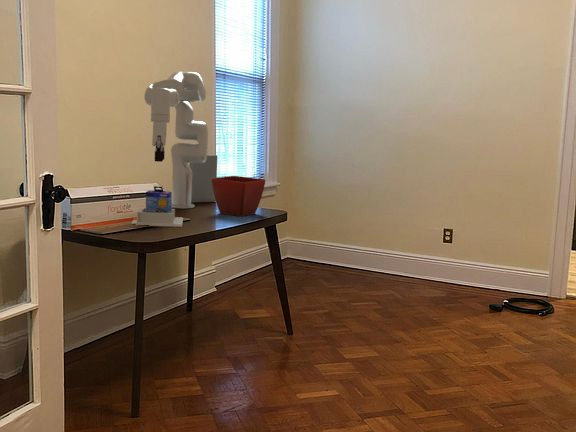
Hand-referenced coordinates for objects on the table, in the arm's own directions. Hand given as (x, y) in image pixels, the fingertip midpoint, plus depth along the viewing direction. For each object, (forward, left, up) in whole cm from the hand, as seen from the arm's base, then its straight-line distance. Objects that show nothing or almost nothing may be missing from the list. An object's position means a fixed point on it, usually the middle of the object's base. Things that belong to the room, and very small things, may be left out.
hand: (159, 160), depth 240 cm
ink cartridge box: (0, 0, -25) cm, 25 cm away
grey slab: (-64, +18, -26) cm, 71 cm away
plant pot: (-29, +35, -26) cm, 53 cm away
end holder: (0, 0, -26) cm, 26 cm away
